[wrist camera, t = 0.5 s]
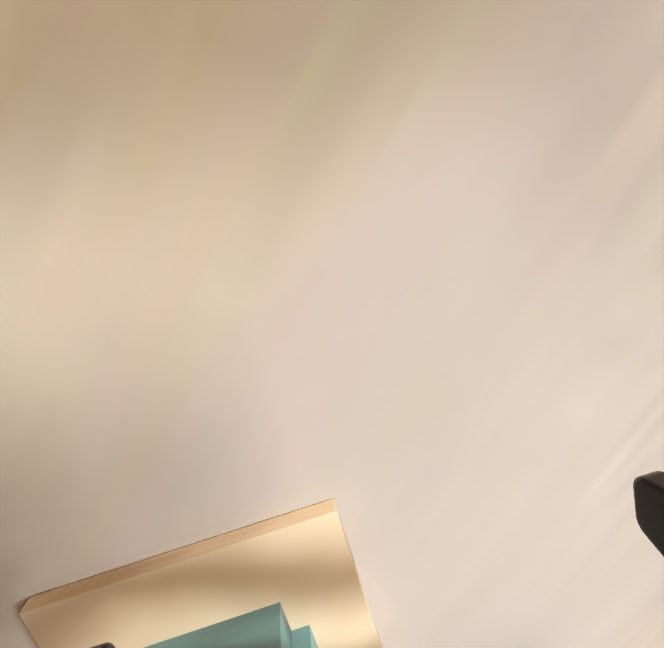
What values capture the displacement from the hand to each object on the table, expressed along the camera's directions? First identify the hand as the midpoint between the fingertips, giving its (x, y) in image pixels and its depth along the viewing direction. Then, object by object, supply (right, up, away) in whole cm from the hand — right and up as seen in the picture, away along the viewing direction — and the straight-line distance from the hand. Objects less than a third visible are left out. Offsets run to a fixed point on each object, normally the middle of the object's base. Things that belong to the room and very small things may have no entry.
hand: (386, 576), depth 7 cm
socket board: (-6, -16, +18) cm, 24 cm away
